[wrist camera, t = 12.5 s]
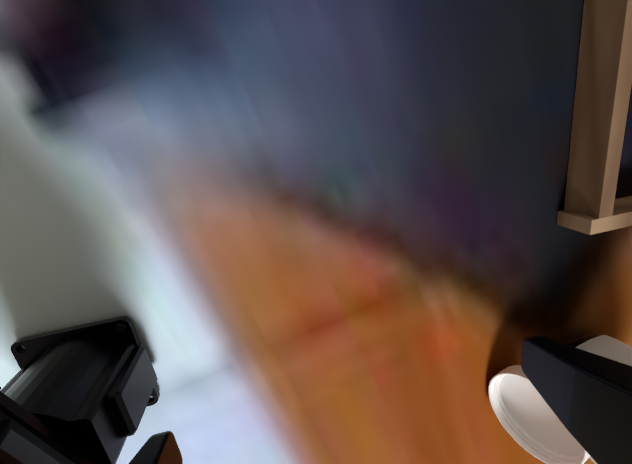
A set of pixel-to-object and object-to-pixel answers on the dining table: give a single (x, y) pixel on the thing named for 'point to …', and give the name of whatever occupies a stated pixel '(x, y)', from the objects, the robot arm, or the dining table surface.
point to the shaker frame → (599, 120)
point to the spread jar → (545, 406)
